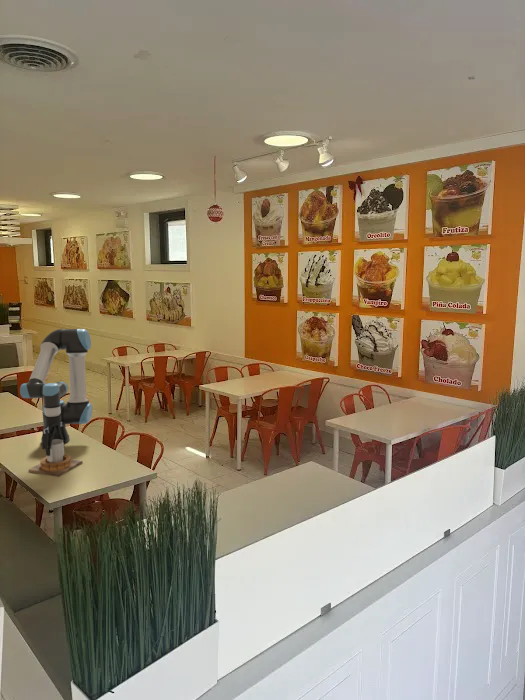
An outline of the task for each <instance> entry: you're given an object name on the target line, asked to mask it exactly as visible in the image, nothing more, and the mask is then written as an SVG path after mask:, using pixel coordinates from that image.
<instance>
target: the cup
mask: <svg viewBox="0 0 525 700" xmlns="http://www.w3.org/2000/svg"><path fill="white" fill-rule="evenodd" d="M50 449H52V458H53V461H52V462H50V463H59V462H62V461H63V440H60V439H55V440H52V444H51V448H50Z"/></svg>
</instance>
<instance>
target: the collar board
mask: <svg viewBox="0 0 525 700" xmlns="http://www.w3.org/2000/svg"><path fill="white" fill-rule="evenodd" d="M81 464H83V460H80V459H79V460H78V459H72V458H71V456H70V455H69V454H65V453H64V456H63V461H62V462H59V463H50V462H49V461H47V456H44V457H43V458H41V460H40V461H39V463H38V464H36V465H34V466H32V467H30V468H29V469H28V472H29V473H34V474H40V475H47V476H52V477H61V476H63V475H65V474H66V473H68V472H70V471H71V470H74V468H77V467H78V466H80V465H81Z"/></svg>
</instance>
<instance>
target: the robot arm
mask: <svg viewBox="0 0 525 700" xmlns="http://www.w3.org/2000/svg"><path fill="white" fill-rule="evenodd" d="M39 348H40V352H39V355H38V356H37V359H36V362H35V365H34V367H33V370H32V372H31V374H30V377H29V380H28V381H27V382H26V383H22V384H21V385H20V388H19V393H20V396H21V398H23V399H43V406H42V422H43V423H42V424H43V429H42V430H41V432H42V435H41V438H40V441H41V444H42V445H41V449H43V450H45V457H47V461H49V462H52V461H53V458H52V449H50V448H51V444H52V440H55V439H60V440H63V456H64V454H65V444H67V443H68V442H69V441H70V440H71V439H70V435H69V433H68V430H67V426H66V425H83V424H84V425H85V424H88V423H90V421H91V418H92V414H93V403H90V400H89V399H88V397H87V394H86V393H87V391H86V388H87V387H86V385H87V384H86V355H87V354H88V353H89V352H88V350H91V348H92V338H91V335H90V333H89V331H88V330H87V329H84V328H59V329H58V328H57V329H54V330H53V331H51V332H50V333H49V334H47V335H46V336H45V337H44V338H43V340H42V341H41V344H40V347H39ZM61 350H64V351H65V354H66V355H68V368H69V371H68V374H69V375H68V377H69V378H68V379H69V386H68V384H67V383H66V382H64V381H57V382H56V381H55V382H48V383H47V382H46V383H45V381H46V380H47V376H48V374H49V371H50V370H51V365H52V363H53V360H54V358H55V355H56V354H58V352H59V351H61ZM68 392H69V398H68V399H67V401H66V403H65V402H64V400H62V398H63V397H64V396H66V395H67V393H68Z"/></svg>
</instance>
